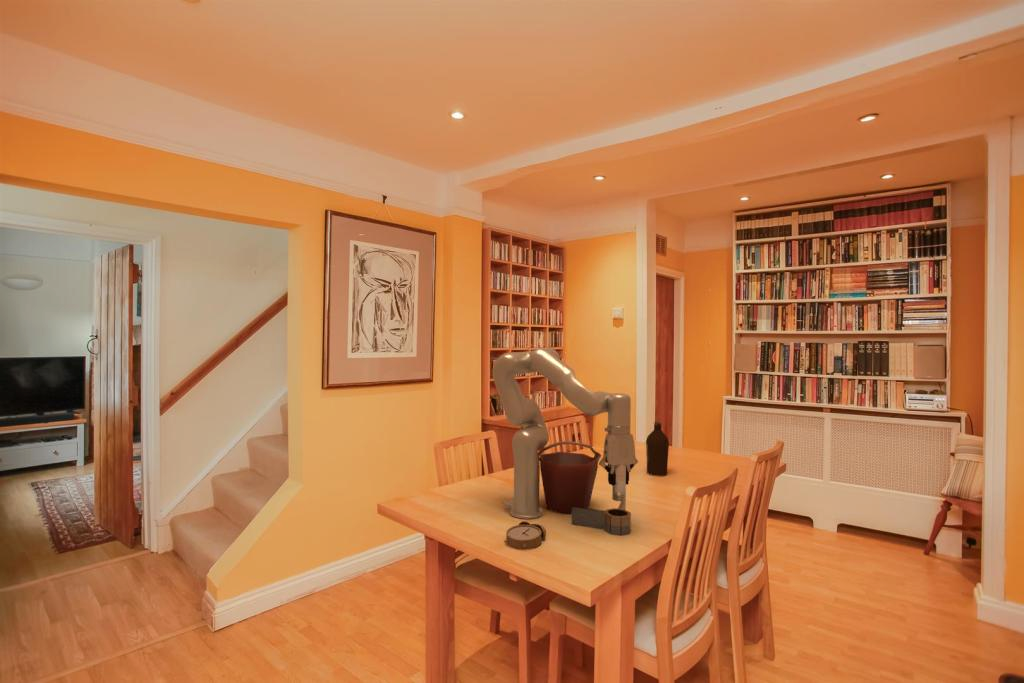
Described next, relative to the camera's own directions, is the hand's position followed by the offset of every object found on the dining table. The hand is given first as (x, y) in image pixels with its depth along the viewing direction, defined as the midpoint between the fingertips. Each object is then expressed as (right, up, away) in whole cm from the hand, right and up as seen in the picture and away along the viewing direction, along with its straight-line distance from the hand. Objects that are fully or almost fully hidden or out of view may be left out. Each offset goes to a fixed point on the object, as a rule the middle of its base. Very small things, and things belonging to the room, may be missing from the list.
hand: (618, 483), depth 171 cm
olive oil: (+34, -16, +74) cm, 83 cm away
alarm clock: (-31, -16, -9) cm, 37 cm away
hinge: (-4, -16, +8) cm, 18 cm away
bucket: (-15, -16, +23) cm, 32 cm away
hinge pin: (0, -5, 0) cm, 5 cm away
